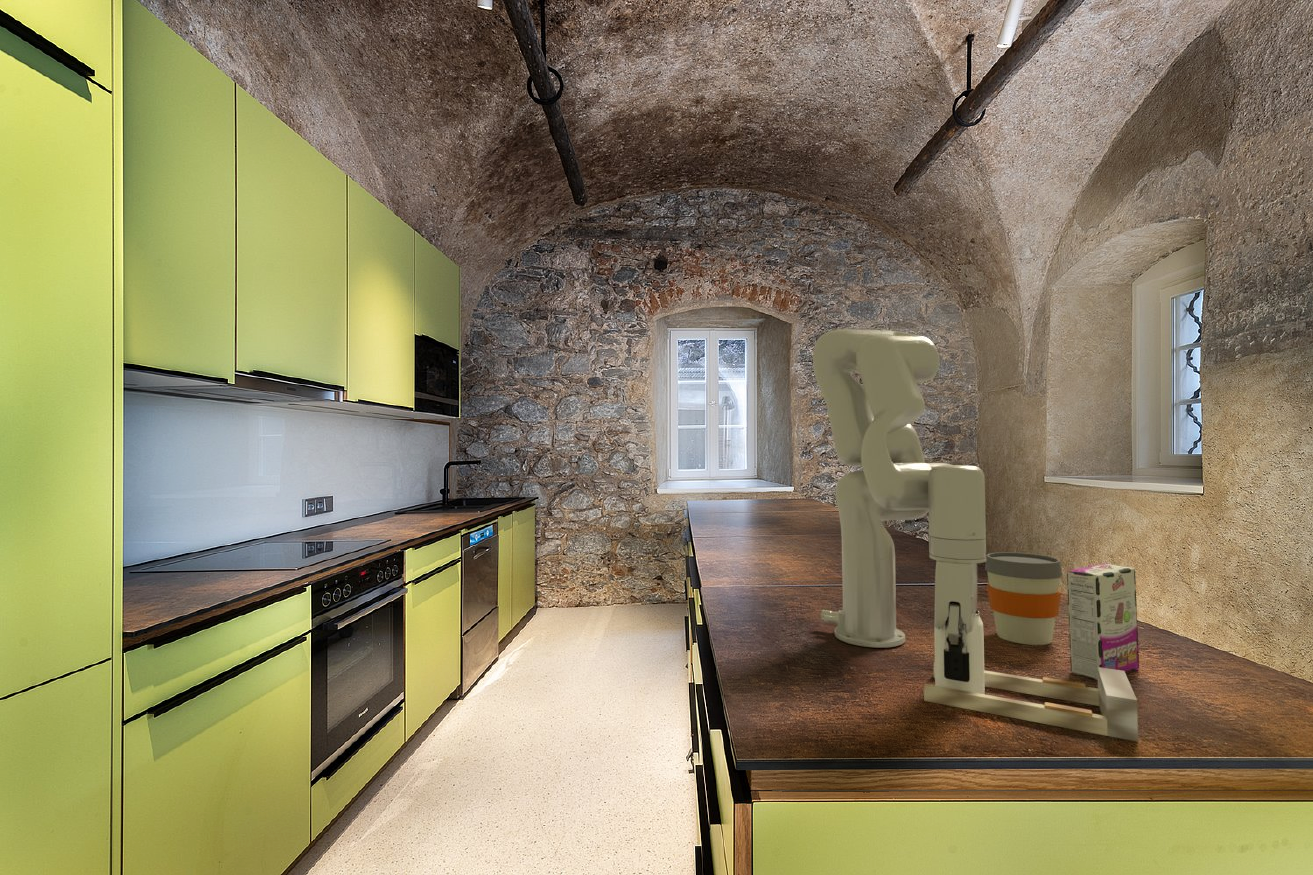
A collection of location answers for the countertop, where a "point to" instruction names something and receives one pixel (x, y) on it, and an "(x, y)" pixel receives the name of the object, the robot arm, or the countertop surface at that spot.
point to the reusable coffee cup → (1024, 595)
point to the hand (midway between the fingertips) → (959, 670)
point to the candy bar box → (1102, 619)
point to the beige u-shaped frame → (1109, 696)
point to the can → (975, 658)
